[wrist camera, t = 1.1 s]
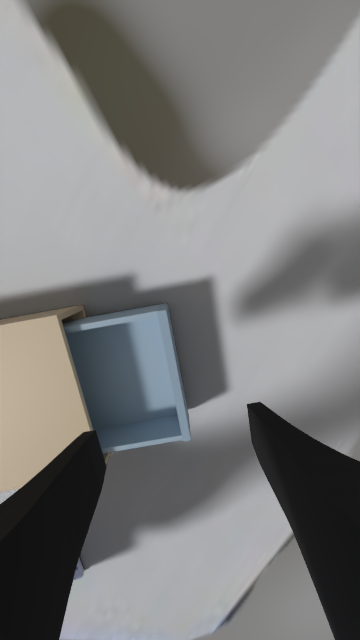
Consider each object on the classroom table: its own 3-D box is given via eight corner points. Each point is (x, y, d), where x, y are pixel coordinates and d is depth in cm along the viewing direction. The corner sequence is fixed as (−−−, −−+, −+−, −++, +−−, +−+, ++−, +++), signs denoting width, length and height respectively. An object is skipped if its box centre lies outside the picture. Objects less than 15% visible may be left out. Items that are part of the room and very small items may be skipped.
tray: (188, 414, 21) (191, 440, 18) (-1, 446, 21) (-31, 477, 18) (167, 303, 19) (165, 309, 16) (-43, 340, 19) (-86, 354, 16)
